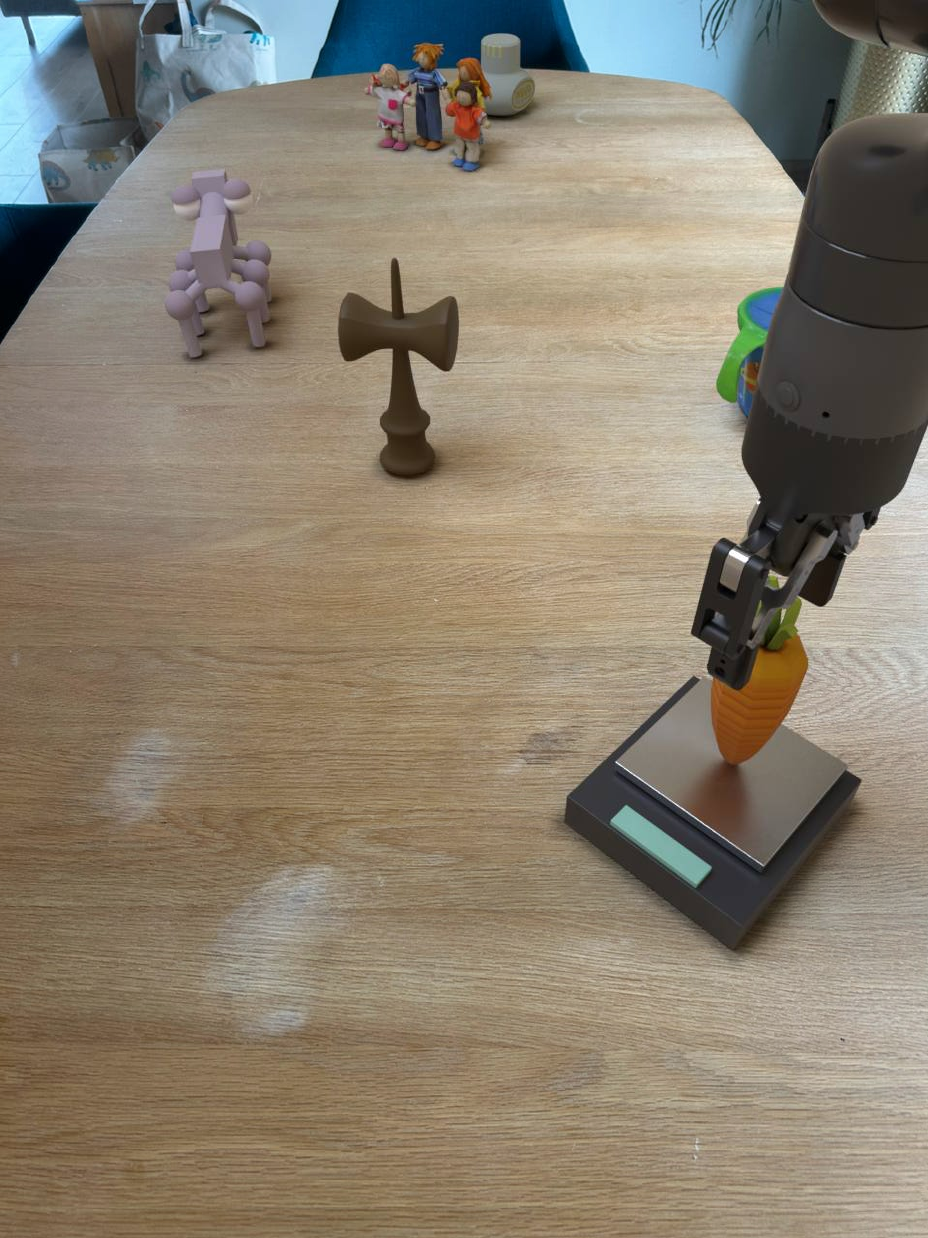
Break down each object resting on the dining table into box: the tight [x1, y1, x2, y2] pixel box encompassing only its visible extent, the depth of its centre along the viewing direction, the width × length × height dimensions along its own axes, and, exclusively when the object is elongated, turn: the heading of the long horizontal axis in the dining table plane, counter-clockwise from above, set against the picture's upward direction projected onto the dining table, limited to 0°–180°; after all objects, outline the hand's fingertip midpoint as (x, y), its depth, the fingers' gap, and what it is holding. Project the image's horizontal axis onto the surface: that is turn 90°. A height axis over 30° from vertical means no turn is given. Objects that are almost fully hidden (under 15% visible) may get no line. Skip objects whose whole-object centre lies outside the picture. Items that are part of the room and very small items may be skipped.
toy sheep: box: [164, 168, 272, 358], centre depth 108 cm, size 20×11×14 cm, turn 5°
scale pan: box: [614, 676, 849, 873], centre depth 64 cm, size 10×11×1 cm
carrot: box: [711, 574, 809, 764], centre depth 58 cm, size 5×5×15 cm
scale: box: [563, 675, 863, 951], centre depth 65 cm, size 14×13×4 cm
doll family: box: [363, 42, 493, 172], centre depth 141 cm, size 21×10×13 cm, turn 55°
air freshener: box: [480, 33, 536, 117], centre depth 153 cm, size 11×8×10 cm
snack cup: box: [715, 286, 784, 418], centre depth 95 cm, size 16×10×10 cm
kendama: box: [337, 257, 460, 476], centre depth 86 cm, size 6×10×20 cm, turn 81°
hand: (769, 636), depth 55 cm, fingers open, 8 cm apart
